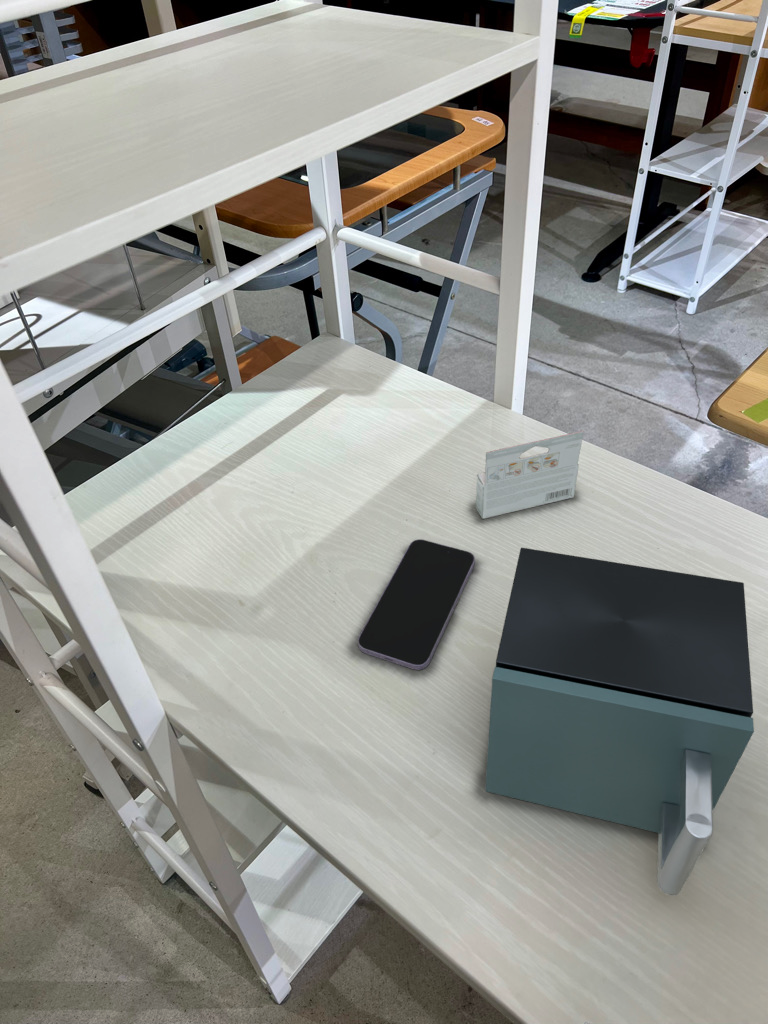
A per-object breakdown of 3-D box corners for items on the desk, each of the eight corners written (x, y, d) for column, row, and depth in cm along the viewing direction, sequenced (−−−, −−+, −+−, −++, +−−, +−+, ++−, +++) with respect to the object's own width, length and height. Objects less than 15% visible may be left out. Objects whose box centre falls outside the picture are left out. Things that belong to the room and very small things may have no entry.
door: (697, 923, 52) (760, 823, 41) (470, 863, 56) (474, 757, 45) (696, 829, 57) (753, 717, 46) (487, 779, 60) (494, 666, 50)
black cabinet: (695, 827, 57) (753, 713, 46) (487, 778, 61) (495, 661, 50) (694, 705, 64) (744, 582, 54) (509, 668, 68) (520, 546, 57)
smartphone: (353, 645, 70) (413, 536, 80) (354, 652, 71) (413, 543, 81) (424, 669, 68) (478, 553, 77) (425, 675, 69) (478, 561, 78)
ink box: (474, 507, 84) (476, 439, 78) (565, 486, 86) (575, 417, 79) (481, 521, 83) (484, 453, 76) (575, 499, 84) (585, 430, 78)
